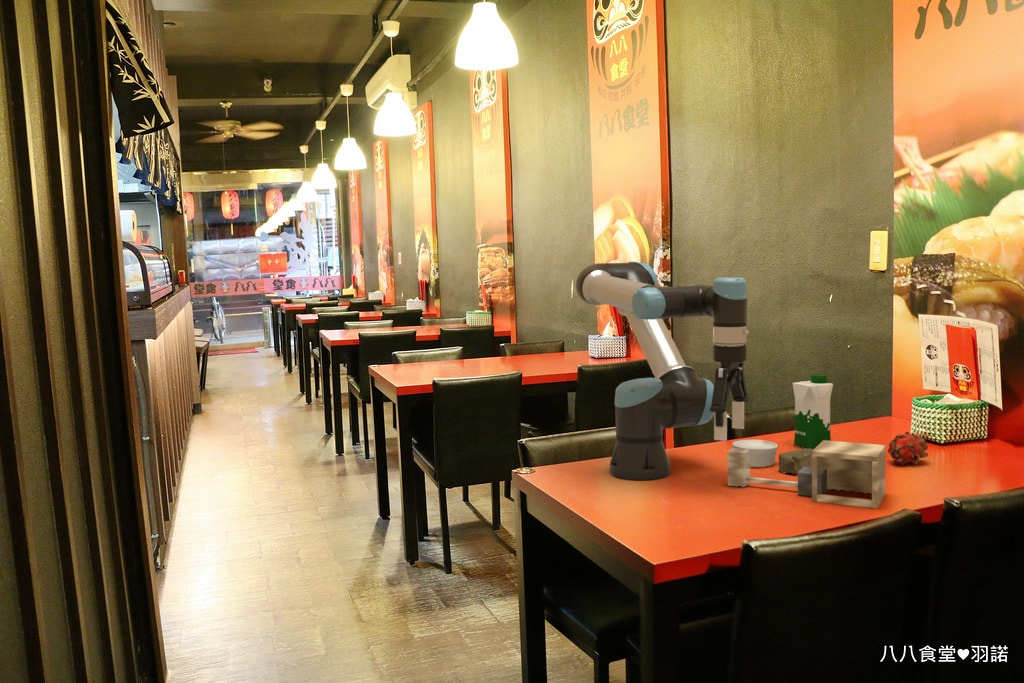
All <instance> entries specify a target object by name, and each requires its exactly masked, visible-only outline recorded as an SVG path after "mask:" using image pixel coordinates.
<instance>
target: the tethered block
mask: <svg viewBox="0 0 1024 683" xmlns="http://www.w3.org/2000/svg"><path fill="white" fill-rule="evenodd" d="M750 473H751V467H750V450H747V449H736V448H731V449H729V450H728V451H727V486H731V487H738V486H741V487H740V488H746V487H747V486H748V485H749V483H750V484H759V485H760V484H762V485H772V486H781V487H789V488H795V489H797V496H806V497H812V467H803V468H802V469H801V470H800V471H799V472H798V474H797V481H789V480H782V479H781V480H780V479H774V478H773V479H772V478H763V477H754V476H751V474H750ZM745 486H746V487H745ZM827 491H828V489H827V469H824V468H818V494H825V493H826V492H827ZM825 495H826V494H825Z"/></svg>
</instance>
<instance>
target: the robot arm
mask: <svg viewBox="0 0 1024 683" xmlns="http://www.w3.org/2000/svg"><path fill="white" fill-rule="evenodd" d="M657 282H658V277H657V275H656V272H655V271H654V269H653V268H652V267H651V266H650V265H649V264H648V263H647V262H646V263H645V262H641V261H638V262H637V261H628V262H607V263H605V262H603V263H602V262H601V263H600V262H599V263H594V264H591V265H588V266H586V267H584V268H583V270H581V271H580V272H579V274H578V275H577V277H576V280H575V291H576V293H577V296H578V298H580V299H581V301H583V302H585V303H587V304H590V305H593V306H602V305H608V306H611V307H613V308H614V307H615V308H616V310H617V312H618V313H619V314H620V315H621V316H623V317H626V319H627V321H628V323H629V325H630V327H631V329H632V332H633V333H634V335H635V338H636V340H637V342H638V344H639V347H640V349H641V350H642V353H643V355H644V357H645V359H646V361H647V363H648V365H649V368H650V370H651V372H652V374H653V376H654V377H643V378H642V377H641V378H635V379H630V380H627V381H623V382H621V383H619V385H618V386H617V387H616V388H615V394H614V407H615V408H614V410H615V412H614V413H615V415H614V417H615V445H614V449H613V452H612V456H611V459H610V462H609V473H610V475H612V476H613V477H616V478H620V479H624V480H625V479H626V480H636V481H639V480H641V481H647V480H648V481H649V480H650V481H651V480H658V479H662V478H665V477H668V476H669V475H670V474H671V462H670V459H669V457H668V453H667V451H666V447H665V444H664V439H663V438H664V436H663V435H664V433H663V432H664V431H663V430H664V429H665V430H667V429H674V428H675V429H676V428H683V427H691V426H692V427H696V426H699V425H704V424H707V423H708V422H710V421H711V420H712V419H713V423H714V424H713V431H714V432H713V434H714V435H713V439H714V441H723V442H726V441H727V440H728V412H727V411H726V410H727V406H728V400H729V397H730V392H731V395H732V398H733V401H731V428H732V429H737V430H744V429H745V402H748V401H749V396H748V391H747V386H746V378H745V371H744V362H745V361H747V355H748V354H747V348H748V347H747V345H745V344H746V343H747V335H749V334H750V332H749V330H748V329H747V322H748V321H747V320H748V318H747V317H748V315H747V314H748V296H749V295H748V290H747V280H746V279H745V278H744V277H737V276H736V277H729V276H728V277H717V278H715V279H714V280H713V281H712V282H713V284H712V285H706V284H702V283H700V284H691V285H680V286H679V285H678V286H677V285H676V286H659V284H658V283H657ZM694 317H695V318H697V317H709V318H710V317H711V318H713V319H712V320H713V323H712V324H713V325H712V343H714V344H715V345H714V346H712V347H713V348H712V351H713V352H712V359H713V361H715V362H717V363H720V367H716V368H715V375H714V377H715V378H714V384H713V382H712V381H711V380H709V379H707V378H705V377H703V378H702V377H701V378H700V377H699V376H698V374H697V371H696V370H695V369H694V368H693V367H692V366H688V365H686V364H685V361H684V359H683V357H682V356H681V353H680V351H679V349H678V347H677V345H676V343H675V341H674V339H673V337H672V335H671V333H670V331H669V330H668V326H666V324H665V322H664V320H665V319H674V318H677V319H678V318H679V319H680V318H694Z"/></svg>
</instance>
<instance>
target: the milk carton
mask: <svg viewBox="0 0 1024 683" xmlns="http://www.w3.org/2000/svg"><path fill="white" fill-rule="evenodd" d="M791 383H792V384H791V385H792V388H793V396H794V441H793V442H794V443H793V446H794V445H797V446H796V447H798V446H800V447H799V448H801V447H803V448H802V449H804V448H806V449H809V448H810V449H815V448H816V447H817V446H818V445H819V444H820V443H821V442H822V441H823V440H827V441H832V438H831V437H832V435H831V396H832V391H833V387H834V384H833V383H831V382H828V381H827V374H821V373H820V374H818V373H816V374H814V373H813V374H810V380H805V381H798V382H791Z"/></svg>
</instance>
